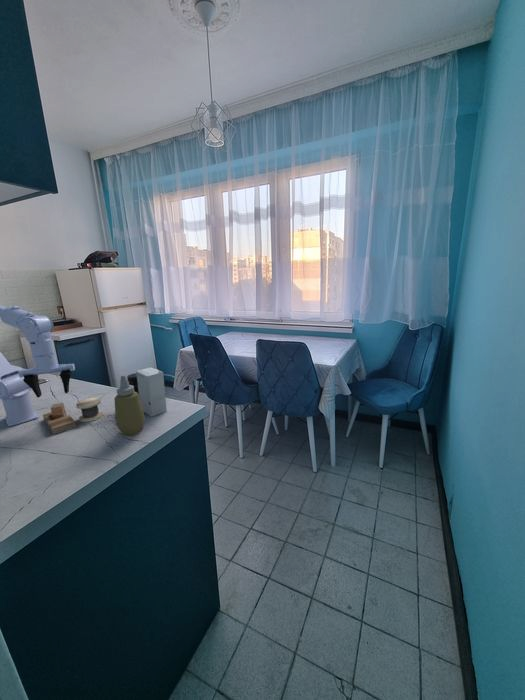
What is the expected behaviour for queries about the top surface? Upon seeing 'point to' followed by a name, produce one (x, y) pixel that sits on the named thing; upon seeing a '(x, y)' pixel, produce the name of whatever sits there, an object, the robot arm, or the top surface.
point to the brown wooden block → (58, 411)
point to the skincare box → (151, 391)
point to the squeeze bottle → (128, 409)
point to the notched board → (59, 423)
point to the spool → (89, 409)
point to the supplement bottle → (133, 381)
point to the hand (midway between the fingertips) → (53, 394)
